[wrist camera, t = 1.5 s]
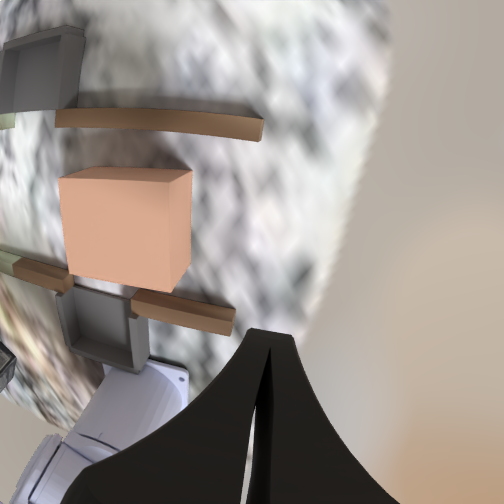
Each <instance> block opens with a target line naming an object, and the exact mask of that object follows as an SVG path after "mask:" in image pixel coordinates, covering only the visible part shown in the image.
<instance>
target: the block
mask: <svg viewBox="0 0 504 504" xmlns="http://www.w3.org/2000/svg"><path fill="white" fill-rule="evenodd" d="M192 174H193V170H177V169H158V168H134V167H91V168H87V169H84V170H81V171H78V172H75V173H72V174H69V175H66V176H63V177H60V178H58V181H59V195H60V207H61V217H62V226H63V234H64V242H65V249H66V256H67V262H68V268H69V274H73V275H78V276H82V277H87V278H92V279H97V280H103V281H108V282H113V283H118V284H124V285H129V286H135V287H140V288H146V289H151V290H157V291H163V292H169V293H171V292H172V290H173V289H174V287H175V286H176V285H177V283H178V282H179V280H180V279H181V277H182V276H183V274H184V273H185V271H186V270H187V268H188V267H189V265H190V264H191V205H192Z"/></svg>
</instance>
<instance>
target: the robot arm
mask: <svg viewBox="0 0 504 504" xmlns="http://www.w3.org/2000/svg"><path fill="white" fill-rule="evenodd" d="M102 364H103V363H102ZM103 369H104V373H105V378H104V380H103V381H102V383H101V384H100V386H99V387H98V389H97V391H96V392H95V394H94V395H93V397H92V398H91V400H90V401H89V403H88V405H87V406H86V408H85V409H84V411H83V413H82V414H81V416H80V417H79V419H78V421H77V422H76V424H75V425H74V427H73V429H72V430H70V431H69V433H68V435H67V436H66V438H65V439H64V441H63V442H62V441H61V440H62V438H63V437H61V436H60V435H59V434H57V433H55V435H47V436H46V437H45V438H44V439H43V441H42V442H41V444H40V445H39V446H38V448H37V450H36V451H35V453H34V454H33V456H32V458H31V459H30V461H29V462H28V464H27V466H26V468H25V469H24V471H23V473H22V475H21V477H20V479H19V481H18V483H17V486H16V488H17V489H16V491H15V493H14V495H13V496H12V498H11V500H10V502H9V504H240V502H241V494H242V487H243V480H244V473H245V466H246V458H247V451H248V444H249V437H250V430H251V423H252V417H253V413H254V410H255V406H256V411H255V427H254V443H253V459H252V470H251V478H250V483H249V489H248V494H247V500H246V504H400V503H398V502H397V501H396V500H395V499H394V498H392V497H391V496H390V495H389V494H388V493H387V492H386V491H385V490H384V489H383V488H382V487H381V486H380V485H379V484H378V483H377V482H376V481H375V480H374V479H373V478H372V477H371V476H370V475H369V473H368V472H367V471H366V470H365V469H364V468H363V466H362V465H361V464H360V463H359V462H358V460H357V459H356V458H355V457H354V456H353V455H352V453H351V452H350V451H349V449H348V448H347V446H346V445H345V444H344V442H343V441H342V440H341V438H340V437H339V435H338V434H337V432H336V431H335V429H334V427H333V426H332V424H331V423H330V421H329V420H328V418H327V416H326V414H325V413H324V411H323V409H322V407H321V405H320V403H319V401H318V400H317V397H316V395H315V393H314V391H313V389H312V387H311V385H310V382H309V380H308V378H307V376H306V374H305V371H304V368H303V366H302V363H301V360H300V358H299V355H298V352H297V348H296V345H295V341H294V338H293V337H292V335H289V334H283V333H277V332H272V331H266V330H261V329H255V328H250V329H248V330H247V332H246V335H245V337H244V339H243V341H242V342H241V344H240V346H239V347H238V349H237V350H236V352H235V353H234V355H233V356H232V358H231V359H230V360H229V362H228V363H227V364H226V365H225V367H224V368H223V369H222V371H221V372H220V373H219V374H218V375H217V376H216V377H215V379H214V380H213V381H212V382H211V383H210V384H209V385H208V386H207V387H206V388H205V389H204V390H203V391H202V392H201V393H200V394H199V395H198V396H197V397H196V398H195V399H194V400H193V401H192V402H191V403H190V404H189V405H188V386H189V373H188V371H187V370H186V369H184V368H180V367H176V366H172V365H168V364H164V363H161V362H157V361H153V360H150V359H147V361H146V363H145V364H144V366H143V368H142V370H141V371H140V372H139V374H138V375H137V374H133V373H130V372H127V371H124V370H121V369H118V368H115V367H112V366H109V365H106V364H103ZM181 377H182V378H181ZM0 504H3V503H2V502H1V501H0Z"/></svg>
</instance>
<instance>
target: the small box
mask: <svg viewBox="0 0 504 504" xmlns="http://www.w3.org/2000/svg"><path fill="white" fill-rule="evenodd" d="M15 364H16V357H15V356H14V355H13V354H12V353H11V352H10V351H9V350H8V349H7V348H6V347H5V346H4V345H3V344H2V343H1V342H0V393H1V391H2V390H3V389H4V388H5V387H6V385H7V384H8V383H9V382H10V381H11V380H12V378H13V376H14V370H15Z"/></svg>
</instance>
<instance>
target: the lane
mask: <svg viewBox="0 0 504 504" xmlns="http://www.w3.org/2000/svg"><path fill="white" fill-rule="evenodd" d="M263 124H264V119H257V118H250V117H242V116H234V115H226V114H217V113H207V112H196V111H183V110H168V109H147V108H73V109H56V118H55V128H64V127H82V128H121V129H140V130H156V131H169V132H180V133H190V134H200V135H209V136H218V137H226V138H233V139H241V140H248V141H254V142H259V141H261V137H262V131H263ZM10 128H15V113H8V114H0V130H4V129H10ZM0 272H2V273H5V274H8V275H10V276H13V277H16V278H19V279H21V280H24V281H27V282H30V283H33V284H36V285H39V286H42V287H45V288H48V289H51V290H54V291H57V292H60V293H63V294H65V293H66V292H67V291H68V290H69V289H71V288H72V287H73V286H74V285H75V284H74V276H73V274H69V270H65V269H62V268H58V267H55V266H51V265H48V264H44V263H41V262H37V261H34V260H31V259H27V258H24V257H21V256H17V255H14V254H11V253H8V252H4V251H1V250H0ZM131 312H132V314H135V315H139V316H142V317H146V318H150V319H154V320H158V321H162V322H166V323H171V324H175V325H179V326H183V327H188V328H192V329H197V330H201V331H206V332H210V333H215V334H220V335H225V336H230V335H231V332H232V329H233V325H234V320H235V313H236V309H231V308H226V307H221V306H216V305H212V304H207V303H202V302H197V301H192V300H188V299H183V298H179V297H174V296H170V295H165V294H161V293H156V292H152V291H148V290H144V289H139V290H138V291H137V292H136V293H135V295H134V296H133V297H132V298H131Z"/></svg>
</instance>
